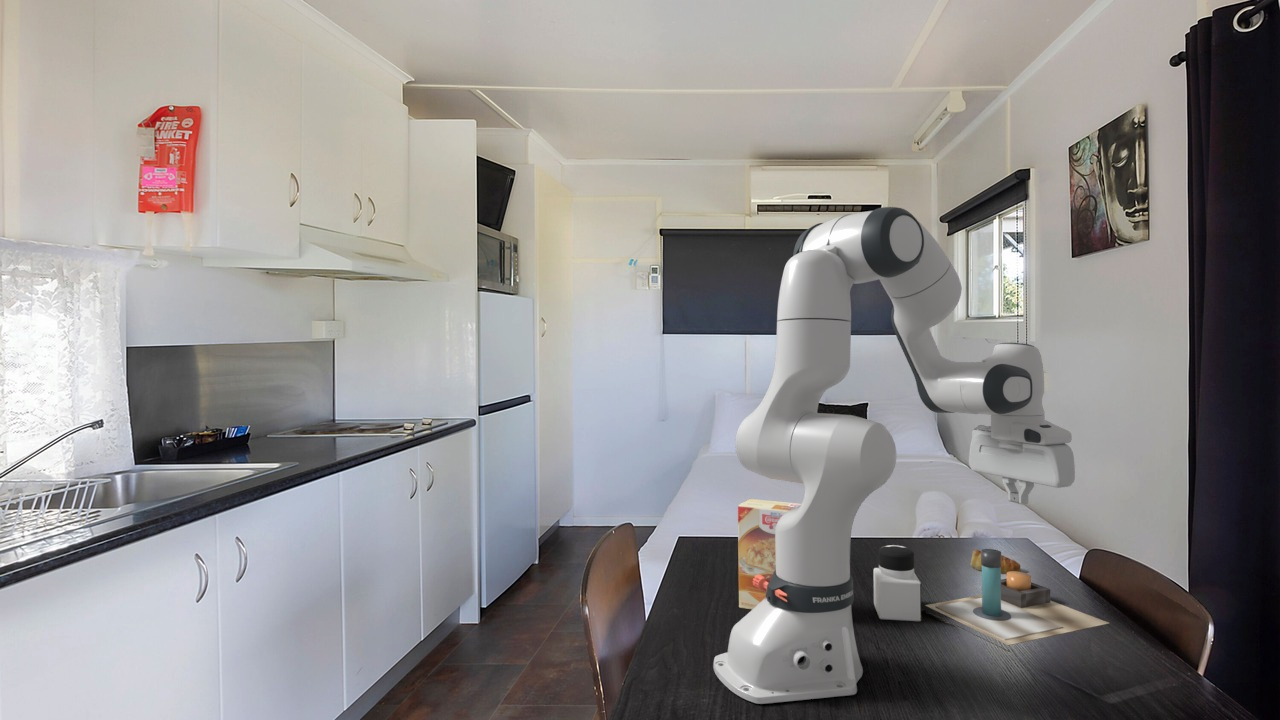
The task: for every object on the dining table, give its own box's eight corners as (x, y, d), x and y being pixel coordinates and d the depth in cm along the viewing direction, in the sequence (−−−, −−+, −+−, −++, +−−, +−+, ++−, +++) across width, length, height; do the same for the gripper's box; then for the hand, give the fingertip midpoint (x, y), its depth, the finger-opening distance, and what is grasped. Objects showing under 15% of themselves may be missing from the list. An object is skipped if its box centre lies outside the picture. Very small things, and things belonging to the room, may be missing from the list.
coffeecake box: (738, 608, 126) (736, 505, 126) (750, 595, 133) (748, 497, 132) (817, 621, 119) (816, 513, 119) (826, 607, 126) (825, 504, 125)
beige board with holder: (1008, 651, 106) (1007, 629, 106) (924, 610, 123) (924, 591, 123) (1109, 628, 114) (1109, 608, 114) (1018, 593, 131) (1018, 575, 131)
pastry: (1022, 570, 145) (1022, 552, 145) (1017, 579, 140) (1017, 561, 140) (974, 562, 151) (974, 545, 151) (968, 570, 146) (968, 553, 146)
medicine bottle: (921, 622, 118) (920, 554, 118) (879, 619, 120) (878, 553, 120) (913, 607, 125) (912, 543, 125) (873, 604, 127) (872, 541, 127)
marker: (992, 617, 116) (991, 555, 116) (977, 611, 119) (976, 550, 119) (1006, 615, 117) (1005, 552, 117) (991, 608, 120) (990, 547, 120)
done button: (1020, 595, 123) (1019, 579, 123) (1001, 588, 127) (1001, 572, 127) (1036, 592, 125) (1036, 576, 125) (1017, 585, 128) (1017, 570, 128)
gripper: (960, 424, 134) (961, 493, 134) (1054, 436, 115) (1055, 516, 115) (984, 423, 136) (985, 490, 136) (1080, 434, 117) (1081, 513, 117)
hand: (1018, 502), depth 126 cm, fingers closed
